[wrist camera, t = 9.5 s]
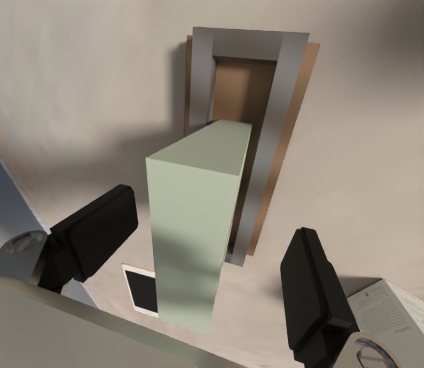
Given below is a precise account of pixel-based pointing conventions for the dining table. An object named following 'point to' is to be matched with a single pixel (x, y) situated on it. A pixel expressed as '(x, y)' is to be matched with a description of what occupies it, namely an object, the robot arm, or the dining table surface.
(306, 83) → the track board
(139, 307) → the cell phone
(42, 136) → the dining table surface
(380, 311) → the small box
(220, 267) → the door panel
